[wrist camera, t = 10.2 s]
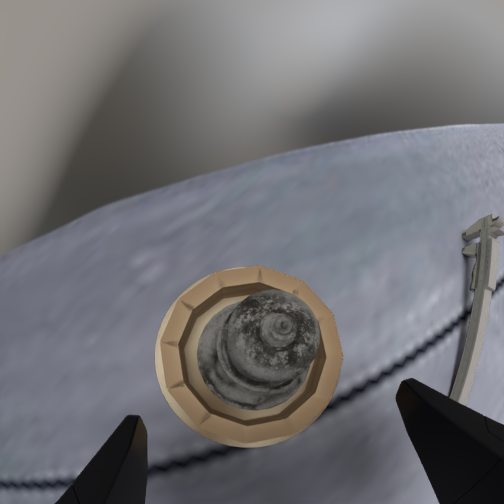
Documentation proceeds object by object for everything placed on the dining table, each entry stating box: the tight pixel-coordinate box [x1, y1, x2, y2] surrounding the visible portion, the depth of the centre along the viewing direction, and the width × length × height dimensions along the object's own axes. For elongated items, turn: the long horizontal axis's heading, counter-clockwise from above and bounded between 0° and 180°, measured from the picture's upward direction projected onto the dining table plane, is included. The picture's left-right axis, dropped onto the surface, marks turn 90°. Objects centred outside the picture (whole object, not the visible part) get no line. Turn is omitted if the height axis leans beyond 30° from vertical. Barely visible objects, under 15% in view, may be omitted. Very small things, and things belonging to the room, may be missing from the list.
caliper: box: [449, 214, 504, 406], centre depth 18 cm, size 20×1×6 cm, turn 161°
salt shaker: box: [197, 289, 320, 411], centre depth 12 cm, size 6×6×12 cm
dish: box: [155, 265, 343, 447], centre depth 17 cm, size 12×12×4 cm
